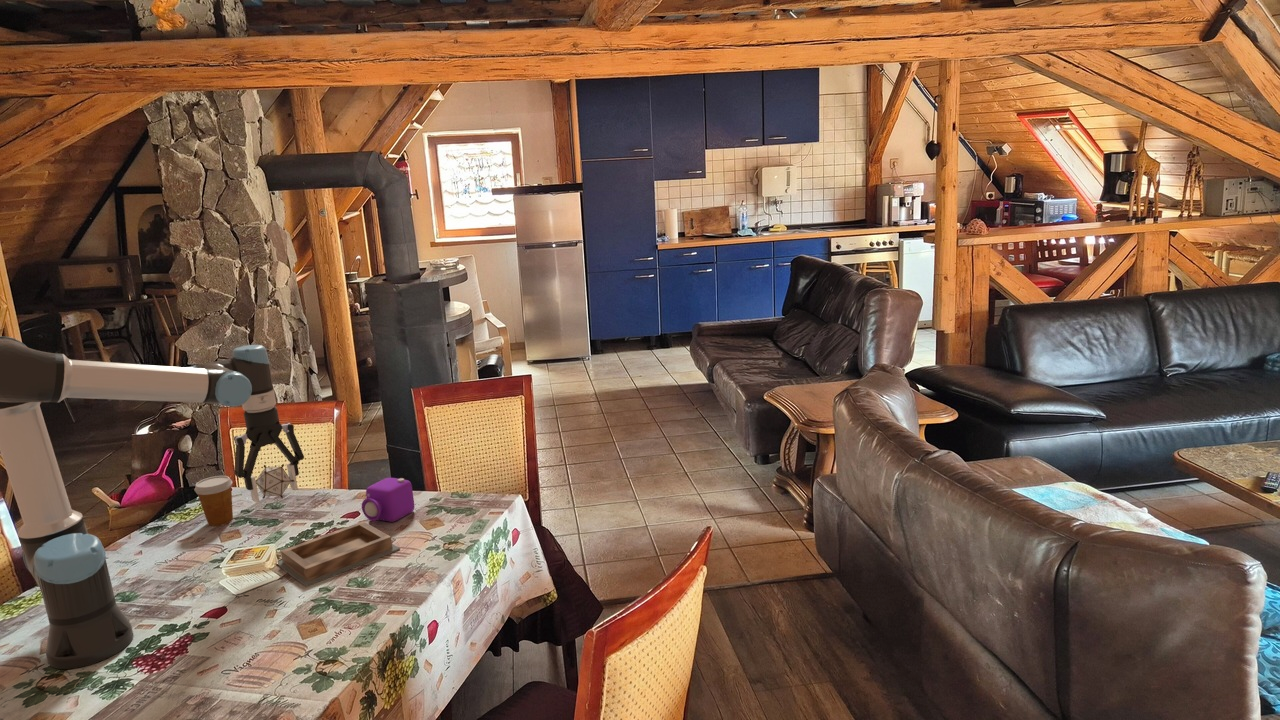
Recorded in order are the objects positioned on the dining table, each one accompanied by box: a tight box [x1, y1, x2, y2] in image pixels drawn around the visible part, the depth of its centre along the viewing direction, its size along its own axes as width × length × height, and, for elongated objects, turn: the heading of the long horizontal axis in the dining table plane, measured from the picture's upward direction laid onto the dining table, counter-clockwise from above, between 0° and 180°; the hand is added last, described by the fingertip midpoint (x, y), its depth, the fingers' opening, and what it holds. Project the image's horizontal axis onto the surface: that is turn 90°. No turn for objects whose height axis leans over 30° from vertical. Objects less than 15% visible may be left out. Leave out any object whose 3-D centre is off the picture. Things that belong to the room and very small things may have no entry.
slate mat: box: [277, 543, 401, 587], centre depth 209 cm, size 24×18×1 cm
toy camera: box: [361, 477, 416, 523], centre depth 230 cm, size 11×14×10 cm
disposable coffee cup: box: [194, 475, 234, 527], centre depth 235 cm, size 10×10×12 cm
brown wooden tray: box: [280, 521, 393, 581], centre depth 209 cm, size 22×15×4 cm
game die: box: [255, 463, 294, 500], centre depth 210 cm, size 9×8×10 cm
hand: (275, 494), depth 211 cm, fingers closed on game die, 9 cm apart
